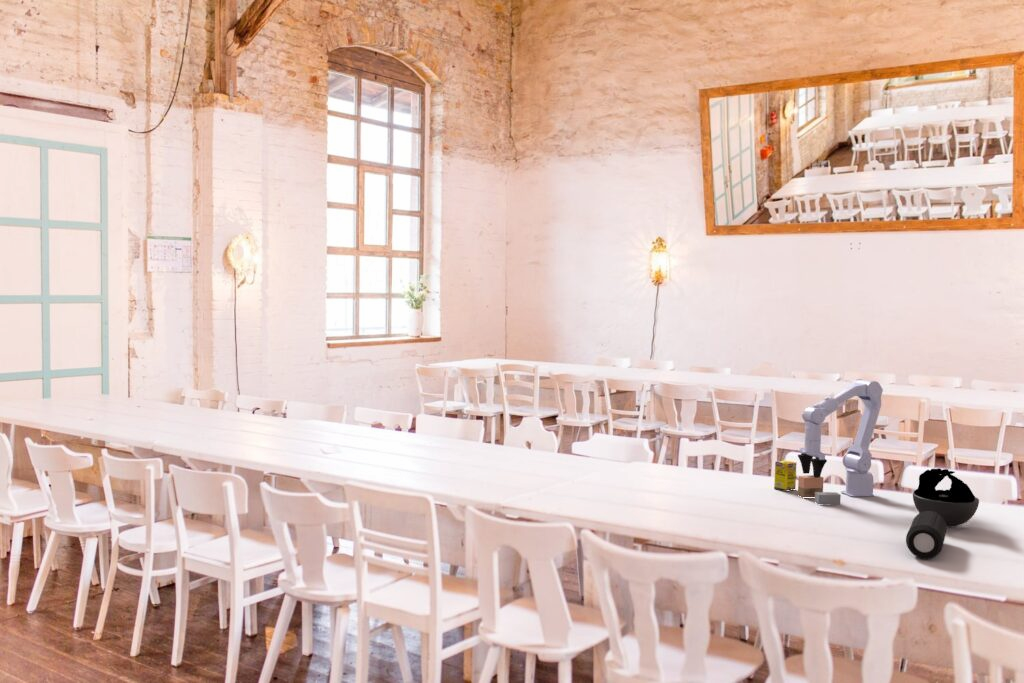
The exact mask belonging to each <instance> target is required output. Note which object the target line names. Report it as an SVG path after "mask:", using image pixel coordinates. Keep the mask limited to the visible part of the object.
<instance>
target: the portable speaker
mask: <svg viewBox="0 0 1024 683" xmlns="http://www.w3.org/2000/svg"><path fill="white" fill-rule="evenodd" d="M947 533H948V527H947V524H946V521H945V520H944V518H943V517H942V516H941V515H939V514H938V513H936V512H933V511H924V512H921V513H919V512H918V514H916V515H915V516H914V518H913V520H912V522H911V524H910V526H909V529H908V531H907V533H906V537H905V544H906V547H907V549H908V551H909V552H911V554H912V555H914V556H915V557H917V558H918V559H923V560H924V559H925V560H928V559H933V558H936V557H937V556H938V555H939V554H940V553H941V552H942V550H943V547H944V542H945V538H946V535H947Z"/></svg>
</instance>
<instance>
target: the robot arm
mask: <svg viewBox="0 0 1024 683" xmlns="http://www.w3.org/2000/svg"><path fill="white" fill-rule="evenodd" d="M883 391H884V389H883V387H882V386H881V384H880V383H879V382H878V381H876V380H866V379H864V378H863V379H862V378H857V379H855V380H854V381H852V382H850V384H849V386H847V387H845V388H844V389H842V390H841V391H840V392H839V393H837V394H836V395H835V396H833V397H832V396H825V397H824V398H823V400H821V401H820V402H817V403H815V404H813V405H812V406H809V407H807V408H805V410H804V411H803V413H802V414H801V416H802V417H801V418H802V420H803V421H804V446H803V447H800V448H799V453H800V454H799V453H798V454H797V457H798V460H799V461H800V465H801V469H802V473H803V474H805V475H806V474H810V472H811V471H810V470H811V465H812V472H813V475H814V477H815V478H820V476H821V474H822V471H823V469H824V467H825V464H826V463H827V461H828V460H827V459H826V454H825V453H823V452H822V451H821V444H822V443H821V440H822V424H823V423H824V422H825V420H826V417H828V416H830V415H831V414H833V413H834V412H836V411H837V410H838V409H839V406H840V405H841V404H843V403H845V402H847V401H848V400H850V399H852V398H854V397H858V399H860V400H861V401H862V403H863V405H864V408H863V412H862V415H861V418H860V422H859V424H858V425H859V426H858V429H857V432H856V435H855V438H854V441H853V444H852V445H850V446H849V447H848V448H847V449H846V450H847V451H846V452H845V454H844V455H843V458H842V465H843V466H844V467H845V473H846V475H845V490H841V491H840V493H842V494H844V495H847V496H850V497H851V498H852V497H854V498H855V497H874V496H875V495H874V476H873V474H872V472H870V471H869V470H870V469H871V467H872V456H873V455H872V452H871V451H870V449H869V448H870V444H871V443H872V442H871V441H872V438H873V434H874V430H875V427H876V426H877V425H876V424H877V421H878V418H879V415H880V411H881V407H882V395H883Z"/></svg>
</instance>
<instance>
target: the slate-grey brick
mask: <svg viewBox="0 0 1024 683" xmlns="http://www.w3.org/2000/svg"><path fill="white" fill-rule="evenodd" d="M815 502H816V503H817V505H818V504H830V505H829V506H841V494H840V493H839V492H837V491H836V492H835V491H834V492H831V491H830V492H829V491H828V492H827V491H826V492H825V491H823V492H815V498H814V503H815ZM816 503H815V504H816Z"/></svg>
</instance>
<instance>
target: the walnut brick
mask: <svg viewBox="0 0 1024 683" xmlns="http://www.w3.org/2000/svg"><path fill="white" fill-rule="evenodd" d="M815 492H824V487H823V488H808V489H804V488H801V487H799V486H798V485H797V496H798V495H799V496H801V497H815Z"/></svg>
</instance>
